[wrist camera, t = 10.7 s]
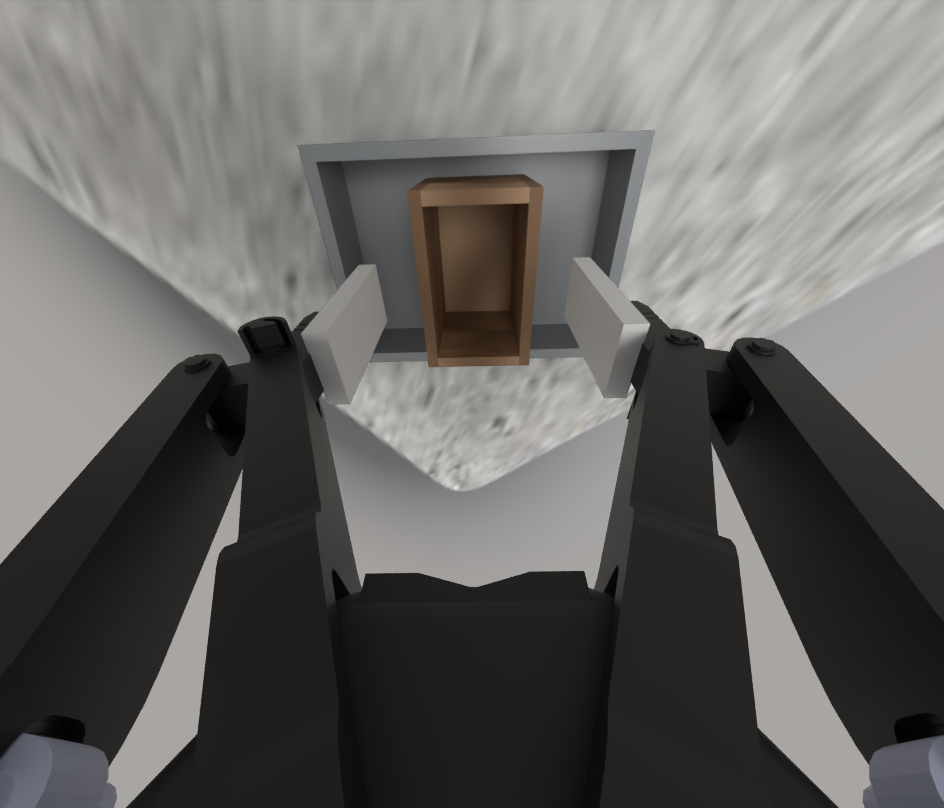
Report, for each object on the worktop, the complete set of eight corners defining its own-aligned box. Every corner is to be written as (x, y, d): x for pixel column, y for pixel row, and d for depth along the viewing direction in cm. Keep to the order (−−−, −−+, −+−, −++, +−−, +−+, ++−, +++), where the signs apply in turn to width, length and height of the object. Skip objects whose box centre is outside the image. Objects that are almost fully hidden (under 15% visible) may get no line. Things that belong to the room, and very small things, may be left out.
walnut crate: (439, 316, 26) (428, 367, 20) (426, 177, 21) (406, 191, 15) (516, 314, 26) (528, 365, 20) (524, 174, 21) (543, 186, 15)
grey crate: (374, 331, 28) (357, 362, 24) (331, 144, 21) (297, 144, 17) (584, 326, 28) (602, 356, 24) (619, 132, 20) (654, 129, 16)
